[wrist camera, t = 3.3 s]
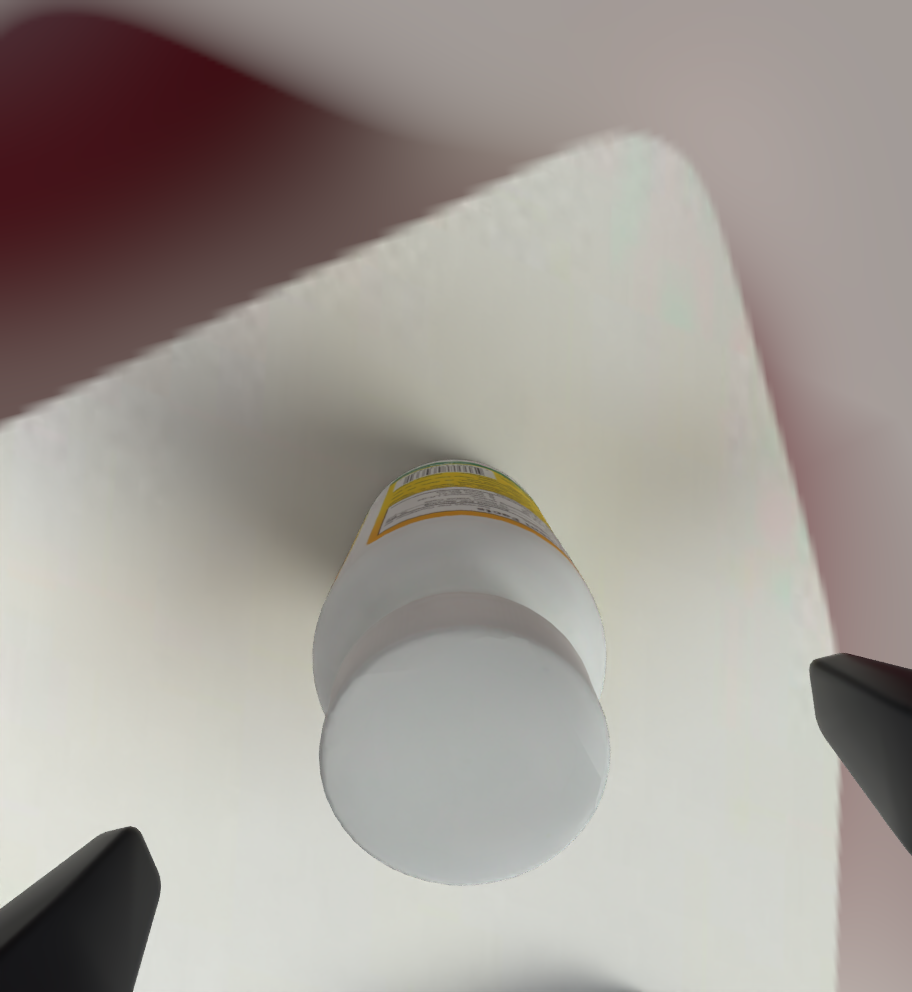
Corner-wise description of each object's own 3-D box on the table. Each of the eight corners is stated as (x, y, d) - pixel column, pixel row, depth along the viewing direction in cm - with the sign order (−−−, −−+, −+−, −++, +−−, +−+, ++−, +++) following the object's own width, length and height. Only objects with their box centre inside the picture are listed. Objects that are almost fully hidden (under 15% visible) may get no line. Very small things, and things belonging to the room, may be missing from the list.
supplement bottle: (447, 417, 17) (458, 485, 7) (583, 542, 18) (748, 747, 8) (321, 555, 17) (184, 778, 8) (457, 669, 18) (477, 989, 9)
